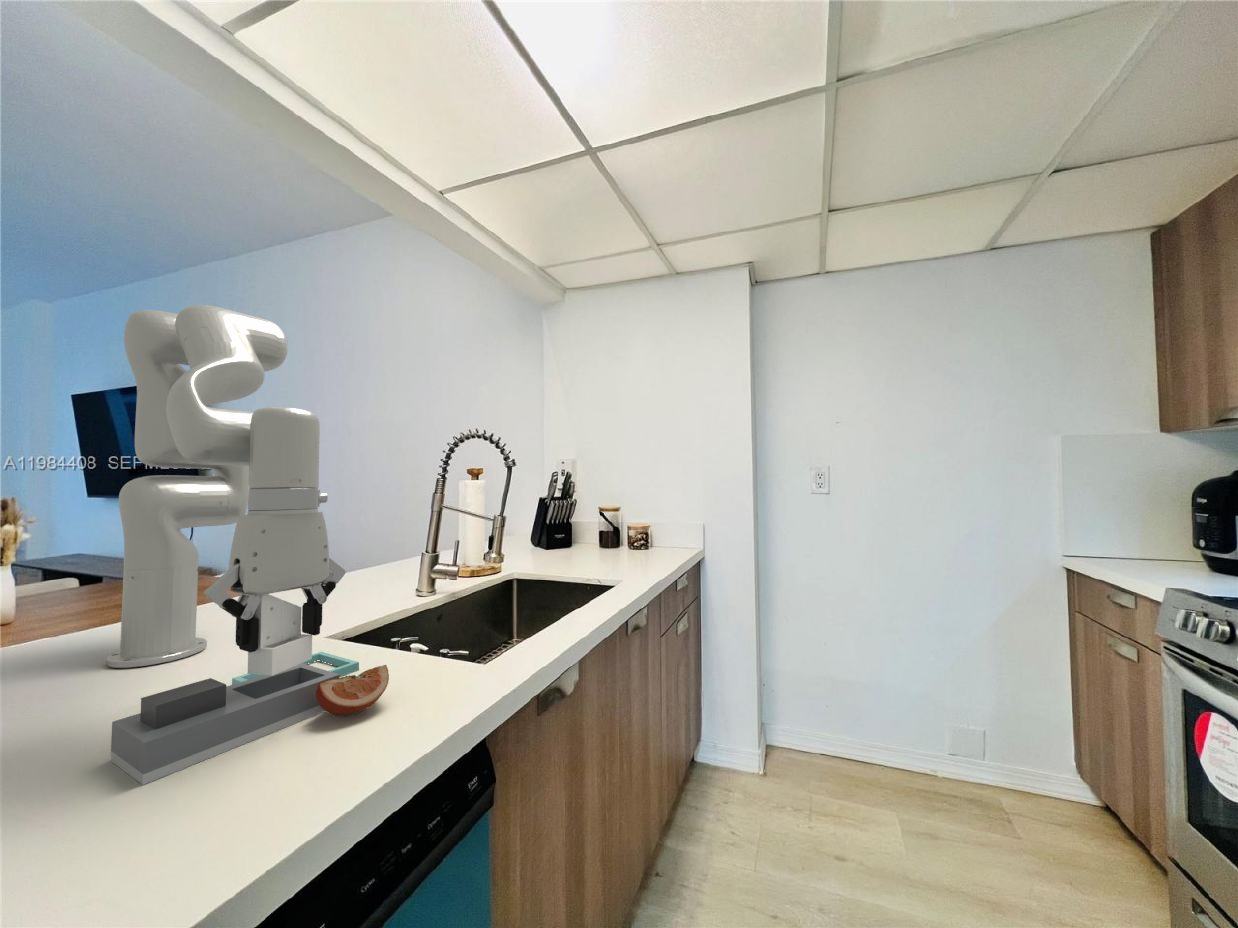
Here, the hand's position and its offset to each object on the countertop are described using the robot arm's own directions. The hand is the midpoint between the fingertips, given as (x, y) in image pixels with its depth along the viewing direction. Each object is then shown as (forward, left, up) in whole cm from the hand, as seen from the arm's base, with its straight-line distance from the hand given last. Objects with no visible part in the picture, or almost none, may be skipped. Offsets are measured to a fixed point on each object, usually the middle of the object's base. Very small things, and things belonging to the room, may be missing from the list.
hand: (281, 640), depth 61 cm
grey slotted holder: (0, -4, -9) cm, 10 cm away
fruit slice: (+8, +5, -10) cm, 13 cm away
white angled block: (0, 0, -3) cm, 3 cm away
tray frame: (-11, +8, -9) cm, 16 cm away
